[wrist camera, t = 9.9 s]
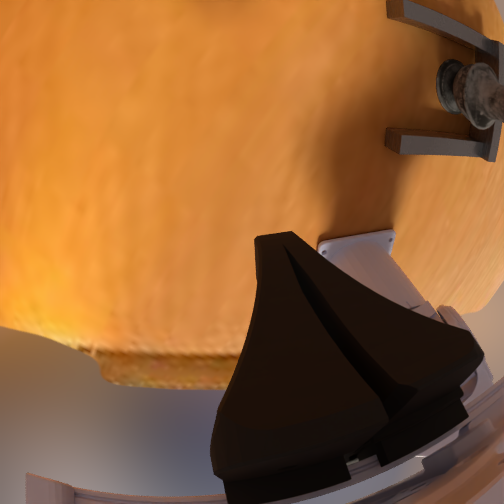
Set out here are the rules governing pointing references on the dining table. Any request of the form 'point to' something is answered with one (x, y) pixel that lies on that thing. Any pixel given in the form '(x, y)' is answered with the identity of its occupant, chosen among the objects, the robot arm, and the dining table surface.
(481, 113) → the weathered grey candle holder
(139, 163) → the dining table surface
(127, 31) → the dining table surface
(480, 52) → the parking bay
